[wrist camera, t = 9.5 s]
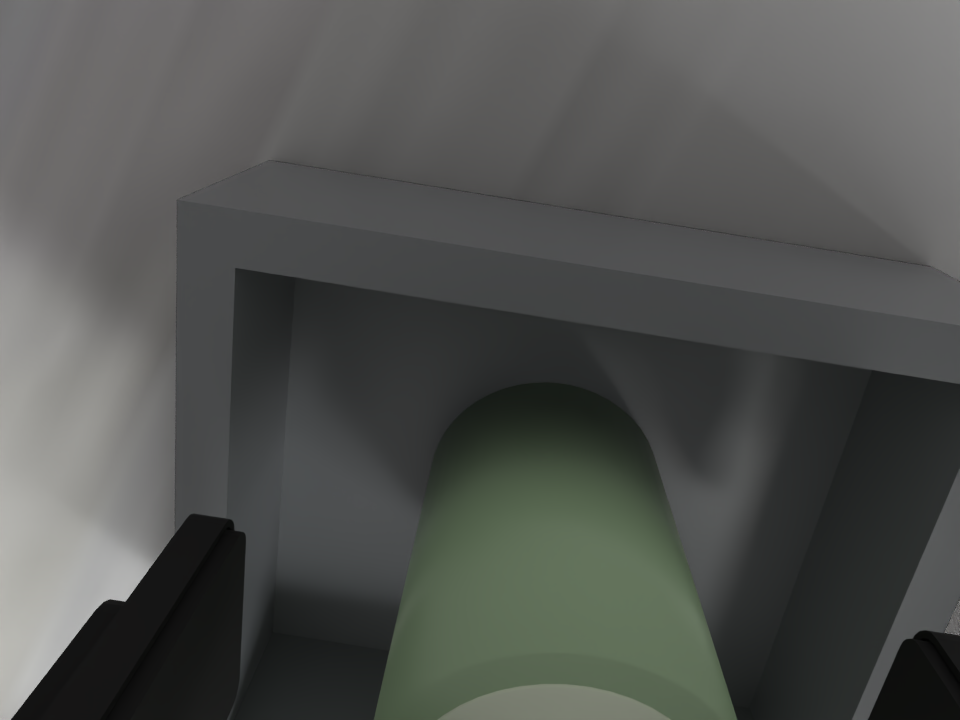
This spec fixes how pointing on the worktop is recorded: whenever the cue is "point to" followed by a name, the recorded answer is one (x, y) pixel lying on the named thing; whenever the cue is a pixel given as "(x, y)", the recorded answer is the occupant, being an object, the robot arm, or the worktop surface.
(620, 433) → the cucumber chunk
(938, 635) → the robot arm
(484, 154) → the worktop surface
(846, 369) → the bin
